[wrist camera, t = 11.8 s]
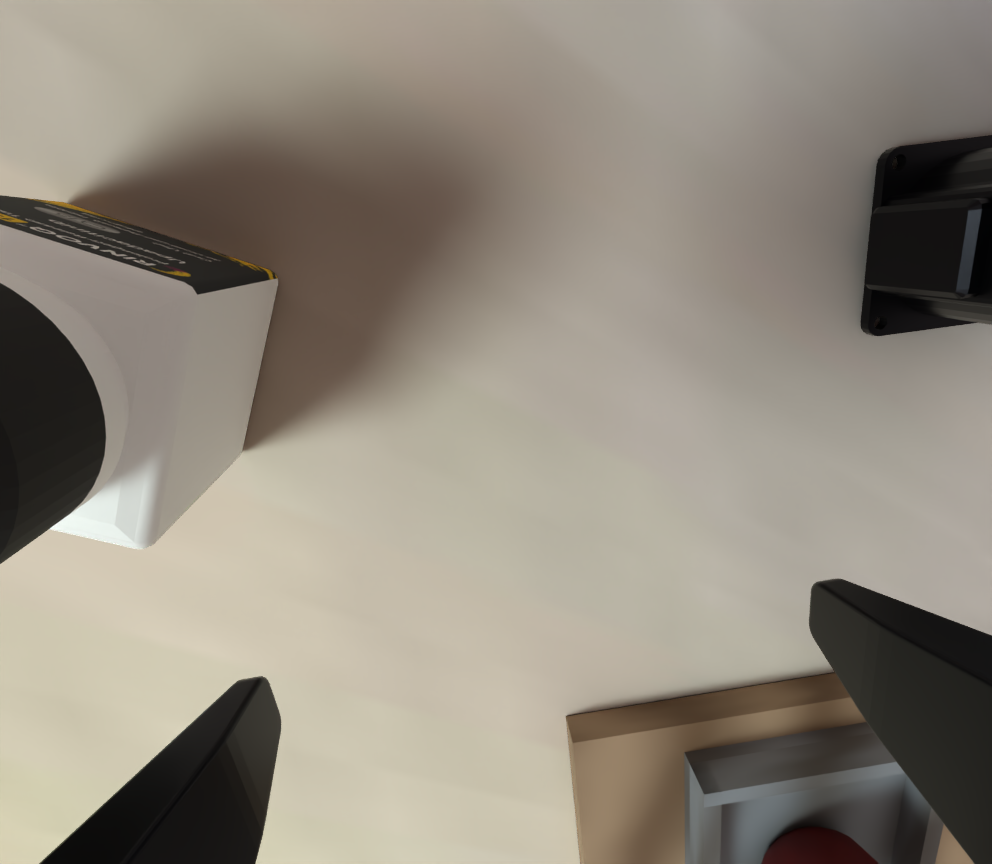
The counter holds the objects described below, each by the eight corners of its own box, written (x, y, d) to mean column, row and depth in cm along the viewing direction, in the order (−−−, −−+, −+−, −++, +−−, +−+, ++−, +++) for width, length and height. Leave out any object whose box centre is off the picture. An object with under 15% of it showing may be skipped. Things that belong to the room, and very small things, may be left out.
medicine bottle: (283, 273, 19) (43, 315, 8) (243, 457, 21) (6, 706, 10) (59, 199, 18) (-628, 120, 6) (39, 402, 20) (-511, 618, 8)
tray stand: (1001, 645, 27) (1079, 702, 24) (945, 885, 33) (1002, 958, 30) (566, 716, 26) (583, 785, 23) (588, 950, 32) (605, 1033, 29)
